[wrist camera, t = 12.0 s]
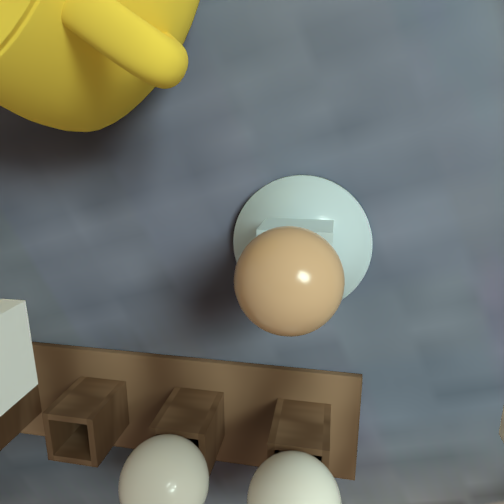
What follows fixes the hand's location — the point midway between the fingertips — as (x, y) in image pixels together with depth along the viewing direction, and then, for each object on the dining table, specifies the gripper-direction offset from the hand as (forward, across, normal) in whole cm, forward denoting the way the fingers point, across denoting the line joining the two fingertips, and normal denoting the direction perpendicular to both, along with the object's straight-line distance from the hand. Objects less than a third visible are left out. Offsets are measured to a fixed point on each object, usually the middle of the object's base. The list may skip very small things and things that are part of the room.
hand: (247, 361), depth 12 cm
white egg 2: (+8, +1, -12) cm, 15 cm away
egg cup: (+15, 0, 0) cm, 15 cm away
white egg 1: (+8, -6, -12) cm, 16 cm away
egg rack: (+15, -10, -12) cm, 21 cm away
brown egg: (+8, 0, 0) cm, 8 cm away
